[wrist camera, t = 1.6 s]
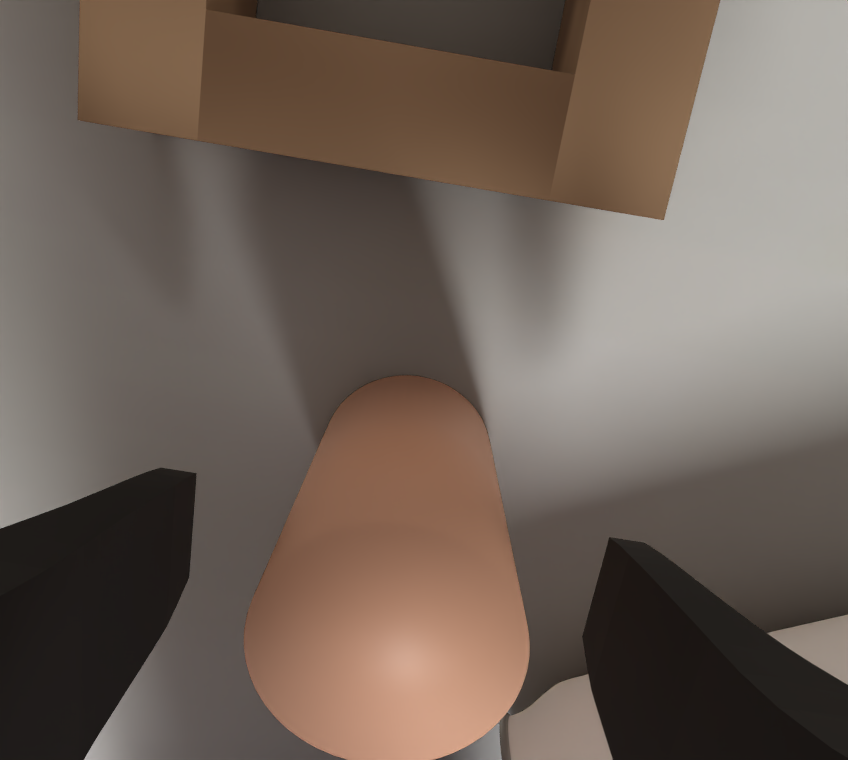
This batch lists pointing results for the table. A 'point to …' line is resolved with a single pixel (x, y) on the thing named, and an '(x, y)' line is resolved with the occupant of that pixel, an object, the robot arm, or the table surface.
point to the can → (579, 720)
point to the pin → (392, 584)
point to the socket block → (413, 95)
